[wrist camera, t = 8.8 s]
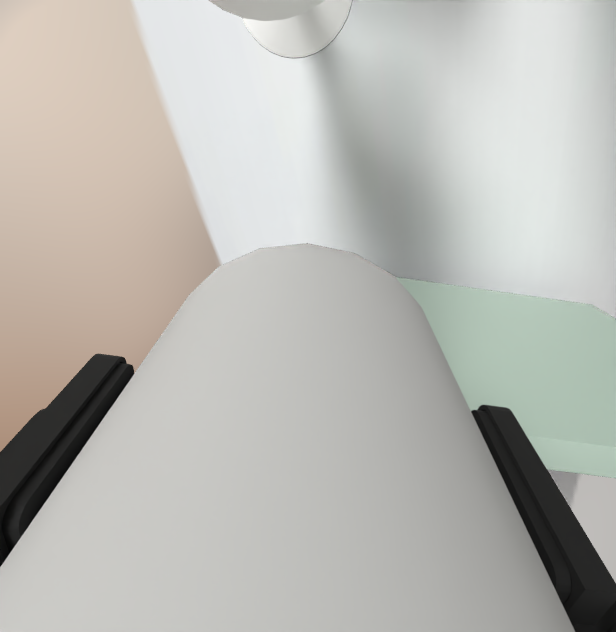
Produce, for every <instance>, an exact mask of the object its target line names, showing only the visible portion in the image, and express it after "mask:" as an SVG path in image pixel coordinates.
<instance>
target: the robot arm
mask: <svg viewBox="0 0 616 632" xmlns="http://www.w3.org/2000/svg"><path fill="white" fill-rule="evenodd" d="M133 375H134V369H133V366H132V365H130V364H127V363H126V360H125V358H124V357H119V356H112V355H104V354H95V355H94V356H93V357H92V358H91V359H90V360H89V361H88V362H87V363H86V365H85V366H84V367H83V368H82V369H81V370H80V371H79V372H78V373H77V375H76V376H75V377H74V378H73V379H72V380H71V381H70V382H69V384H67V386H66V387H65V388H64V389H63V390H62V391H61V392H60V393H59V394H58V396H57V397H56V398H55V399H54V400H53V401H52V402H51V404H49V405H48V407H47V408H45V409H43V410H40V411H39V412H38V413H37V414H35V415H34V416H33V417H32V418H31V419H30V420H29V422H28V423H27V424H26V425H25V426H24V427H23V428H22V430H20V431H19V432H18V434H17V435H16V436H15V437H14V438H13V439H12V440H11V441H10V442H9V443H8V444H7V446H6V447H5V448H4V449H3V450H2V451H1V452H0V567H1V566H2V564H3V563H4V561H5V560H6V558H7V557H8V555H9V554H10V553H11V551H12V550H13V548H14V547H15V545H16V544H17V542H18V541H19V540H20V538H21V537H22V535H23V534H24V532H25V531H26V529H27V528H28V527H29V525H30V524H31V522H32V521H33V519H34V518H35V516H36V515H37V514H38V512H39V511H40V509H41V508H42V506H43V505H44V504H45V502H46V501H47V499H48V498H49V496H50V495H51V493H52V492H53V491H54V489H55V488H56V486H57V485H58V483H59V482H60V480H61V479H62V478H63V476H64V475H65V473H66V472H67V470H68V469H69V467H70V466H71V465H72V463H73V462H74V460H75V459H76V457H77V456H78V454H79V453H80V452H81V450H82V449H83V447H84V446H85V444H86V443H87V441H88V440H89V439H90V437H91V436H92V434H93V433H94V431H95V430H96V429H97V427H98V426H99V424H100V423H101V421H102V420H103V418H104V417H105V416H106V414H107V413H108V411H109V410H110V408H111V407H112V405H113V404H114V403H115V401H116V400H117V398H118V397H119V395H120V394H121V392H122V391H123V390H124V388H125V387H126V385H127V384H128V382H129V381H130V379H131V378H132V377H133ZM471 413H472V415H473V417H474V419H475V421H476V423H477V425H478V428H479V430H480V432H481V434H482V436H483V438H484V440H485V442H486V444H487V447H488V449H489V451H490V453H491V455H492V457H493V459H494V461H495V463H496V466H497V468H498V470H499V472H500V474H501V476H502V478H503V480H504V482H505V485H506V487H507V489H508V491H509V493H510V495H511V497H512V499H513V501H514V504H515V506H516V508H517V510H518V512H519V514H520V516H521V518H522V520H523V523H524V525H525V527H526V529H527V531H528V533H529V535H530V537H531V539H532V542H533V544H534V546H535V548H536V550H537V552H538V554H539V556H540V558H541V561H542V563H543V565H544V567H545V569H546V571H547V573H548V575H549V577H550V580H551V582H552V584H553V586H554V588H555V590H556V592H557V594H558V596H559V599H560V601H561V603H562V605H563V607H564V609H565V611H566V613H567V615H568V618H569V620H570V622H571V624H572V626H573V628H574V630H575V632H616V583H615V582H614V580H613V578H612V577H611V575H610V573H609V572H608V570H607V569H606V567H605V565H604V563H603V562H602V560H601V558H600V557H599V555H598V553H597V552H596V550H595V548H594V547H593V545H592V543H591V542H590V540H589V538H588V537H587V535H586V533H585V532H584V530H583V528H582V527H581V525H580V523H579V522H578V520H577V519H576V517H575V515H574V514H573V512H572V510H571V509H570V507H569V505H568V504H567V502H566V500H565V499H564V497H563V495H562V494H561V492H560V490H559V489H558V487H557V485H556V484H555V482H554V480H553V479H552V477H551V475H550V474H549V472H548V470H547V469H546V467H545V465H544V464H543V462H542V461H541V459H540V457H539V456H538V454H537V452H536V451H535V449H534V447H533V446H532V444H531V442H530V441H529V439H528V437H527V436H526V434H525V432H524V431H523V429H522V427H521V426H520V424H519V422H518V421H517V419H516V417H515V416H514V414H513V412H512V411H511V410H510V409H509V408H506V407H499V406H491V405H481V406H480V407H479V408H478V410H472V411H471Z"/></svg>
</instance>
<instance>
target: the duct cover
mask: <svg viewBox="0 0 616 632" xmlns="http://www.w3.org/2000/svg"><path fill="white" fill-rule="evenodd" d="M396 278H397V280H398V281H399V282H400V283H401V284H402V285H403V286H404V288H405V289H406V290H407V291H408V292H409V293H410V294H411V296H412V297H413V298H414V299H415V300H416V301H417V302H418V303H419V305H420V306H421V307H422V309H423V311H424V314H425V316H426V318H427V320H428V322H429V324H430V326H431V328H432V330H433V333H434V335H435V337H436V339H437V341H438V343H439V345H440V347H441V349H442V352H443V354H444V356H445V358H446V360H447V362H448V364H449V366H450V368H451V371H452V373H453V375H454V377H455V379H456V381H457V383H458V385H459V387H460V390H461V392H462V394H463V396H464V398H465V400H466V402H467V404H468V406H469V409H470V411H472V410H478V408H479V407H480V406H481V405H491V406H499V407H506V408H509V409H510V410H511V411H512V412H513V414H514V416H515V417H516V419H517V421H518V422H519V424H520V426H521V427H522V429H523V431H524V432H525V434H526V436H527V437H528V439H529V441H530V442H531V444H532V446H533V447H534V449H535V451H536V452H537V454H538V456H539V457H540V459H541V461H542V462H543V464H544V465H545V467H546V469H548V470H555V471H563V472H571V473H579V474H587V475H595V476H602V477H610V478H616V319H615V318H614V317H612V316H610V315H608V314H607V313H605V312H603V311H602V310H600V309H598V308H597V307H595V306H593V305H591V304H584V303H577V302H570V301H562V300H555V299H548V298H541V297H534V296H527V295H520V294H513V293H506V292H499V291H492V290H485V289H478V288H470V287H463V286H456V285H449V284H442V283H435V282H428V281H421V280H414V279H407V278H400V277H396Z"/></svg>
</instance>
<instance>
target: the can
mask: <svg viewBox="0 0 616 632" xmlns="http://www.w3.org/2000/svg"><path fill="white" fill-rule="evenodd" d="M0 632H575V630H574V628H573V626H572V624H571V622H570V620H569V618H568V615H567V613H566V611H565V609H564V607H563V605H562V603H561V601H560V599H559V596H558V594H557V592H556V590H555V588H554V586H553V584H552V582H551V580H550V577H549V575H548V573H547V571H546V569H545V567H544V565H543V563H542V561H541V558H540V556H539V554H538V552H537V550H536V548H535V546H534V544H533V542H532V539H531V537H530V535H529V533H528V531H527V529H526V527H525V525H524V523H523V520H522V518H521V516H520V514H519V512H518V510H517V508H516V506H515V504H514V501H513V499H512V497H511V495H510V493H509V491H508V489H507V487H506V485H505V482H504V480H503V478H502V476H501V474H500V472H499V470H498V468H497V466H496V463H495V461H494V459H493V457H492V455H491V453H490V451H489V449H488V447H487V444H486V442H485V440H484V438H483V436H482V434H481V432H480V430H479V428H478V425H477V423H476V421H475V419H474V417H473V415H472V413H471V411H470V409H469V406H468V404H467V402H466V400H465V398H464V396H463V394H462V392H461V390H460V387H459V385H458V383H457V381H456V379H455V377H454V375H453V373H452V371H451V368H450V366H449V364H448V362H447V360H446V358H445V356H444V354H443V352H442V349H441V347H440V345H439V343H438V341H437V339H436V337H435V335H434V333H433V330H432V328H431V326H430V324H429V322H428V320H427V318H426V316H425V314H424V311H423V309H422V307H421V306H420V305H419V303H418V302H417V301H416V300H415V299H414V298H413V297H412V296H411V294H410V293H409V292H408V291H407V290H406V289H405V288H404V286H403V285H402V284H401V283H400V282H399V281H398V280H397V278H396V277H395V276H394V275H392V274H391V273H389V272H387V271H385V270H383V269H382V268H380V267H378V266H376V265H375V264H373V263H371V262H369V261H367V260H366V259H364V258H362V257H360V256H359V255H357V254H355V253H352V252H347V251H342V250H337V249H332V248H327V247H322V246H318V245H313V244H308V243H306V244H296V245H287V246H277V247H267V248H259V249H257V250H255V251H253V252H250V253H248V254H246V255H244V256H241V257H239V258H237V259H235V260H232V261H230V262H228V263H226V264H223V265H221V266H219V267H218V268H217V269H216V270H215V271H214V272H213V273H212V274H210V275H209V276H208V277H207V278H206V279H205V280H204V281H203V282H202V283H201V284H200V285H199V286H198V287H197V288H196V289H195V290H194V291H193V292H192V293H191V294H189V296H188V297H187V299H186V300H185V302H184V303H183V305H182V306H181V308H180V309H179V310H178V312H177V313H176V315H175V316H174V318H173V319H172V320H171V322H170V323H169V325H168V326H167V328H166V329H165V331H164V332H163V334H162V335H161V336H160V338H159V339H158V341H157V342H156V343H155V345H154V346H153V348H152V349H151V351H150V352H149V354H148V355H147V356H146V358H145V359H144V361H143V362H142V364H141V365H140V366H139V368H138V369H137V371H136V373H135V374H134V375H133V377H132V378H131V379H130V381H129V382H128V384H127V385H126V387H125V388H124V390H123V391H122V392H121V394H120V395H119V397H118V398H117V400H116V401H115V403H114V404H113V405H112V407H111V408H110V410H109V411H108V413H107V414H106V416H105V417H104V418H103V420H102V421H101V423H100V424H99V426H98V427H97V429H96V430H95V431H94V433H93V434H92V436H91V437H90V439H89V440H88V441H87V443H86V444H85V446H84V447H83V449H82V450H81V452H80V453H79V454H78V456H77V457H76V459H75V460H74V462H73V463H72V465H71V466H70V467H69V469H68V470H67V472H66V473H65V475H64V476H63V478H62V479H61V480H60V482H59V483H58V485H57V486H56V488H55V489H54V491H53V492H52V493H51V495H50V496H49V498H48V499H47V501H46V502H45V504H44V505H43V506H42V508H41V509H40V511H39V512H38V514H37V515H36V516H35V518H34V519H33V521H32V522H31V524H30V525H29V527H28V528H27V529H26V531H25V532H24V534H23V535H22V537H21V538H20V540H19V541H18V542H17V544H16V545H15V547H14V548H13V550H12V551H11V553H10V554H9V555H8V557H7V558H6V560H5V561H4V563H3V564H2V566H1V567H0Z"/></svg>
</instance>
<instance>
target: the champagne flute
mask: <svg viewBox="0 0 616 632" xmlns="http://www.w3.org/2000/svg"><path fill="white" fill-rule="evenodd" d="M209 1H210V2H212V3H213V4H215V5H216V6H218V7H219V8H221V9H222V10H224V11H227V12H229V13H232V14H234V15H237V16H239V17H241V18H242V20H243V22H244V24H245V26H246V28H247V29H248V31H249V32H250V33H251V35H252V36H253V38H254V39H255V40H256V41H258V42H259V43H260V44H261V45H262V46H263V47H264V48H266V49H267V50H269V51H271V52H272V53H275V54H278V55H280V56H284V57H290V58H298V57H305V56H308V55H311V54H315V53H316V52H318V51H320V50H321V49H323V48H325V47H326V46H327V45H328V44H329V43H330V42H331V41H332V40H333V39H334V38H335V37H336V36H337V34H338V33H339V31H340V30H341V29H342V27H343V25H344V23H345V21H346V19H347V17H348V13H349V10H350V7H351V4H352V0H209Z"/></svg>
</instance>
